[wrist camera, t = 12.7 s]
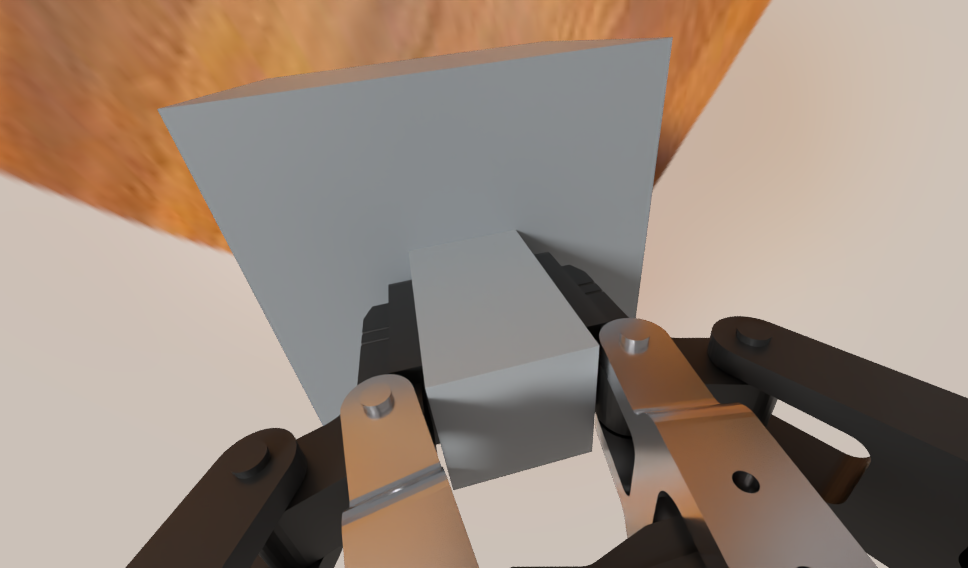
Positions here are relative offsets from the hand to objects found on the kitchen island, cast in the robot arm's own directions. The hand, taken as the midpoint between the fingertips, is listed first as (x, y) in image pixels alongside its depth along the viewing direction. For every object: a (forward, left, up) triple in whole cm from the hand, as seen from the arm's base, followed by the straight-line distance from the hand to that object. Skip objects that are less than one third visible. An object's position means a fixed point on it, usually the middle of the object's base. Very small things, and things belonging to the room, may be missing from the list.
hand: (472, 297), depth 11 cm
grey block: (0, 0, -9) cm, 9 cm away
